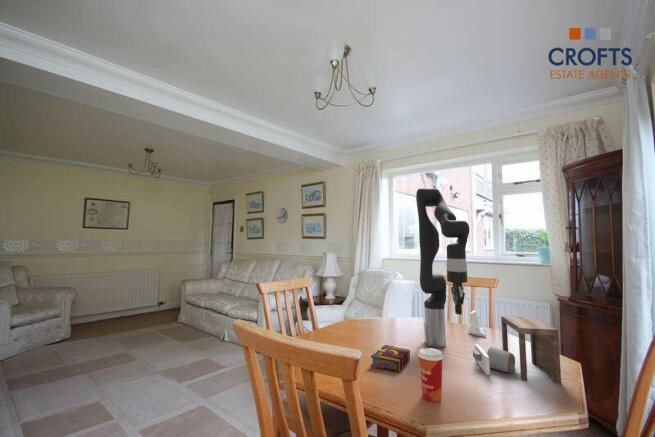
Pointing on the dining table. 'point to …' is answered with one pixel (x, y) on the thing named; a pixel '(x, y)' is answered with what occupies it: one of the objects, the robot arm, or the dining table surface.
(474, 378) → the dining table surface
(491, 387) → the dining table surface
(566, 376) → the dining table surface
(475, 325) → the seated beast figurine
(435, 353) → the paper cup
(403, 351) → the brown patterned box
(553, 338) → the brown wooden small table
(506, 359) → the ceramic mug
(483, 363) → the pull-out front
